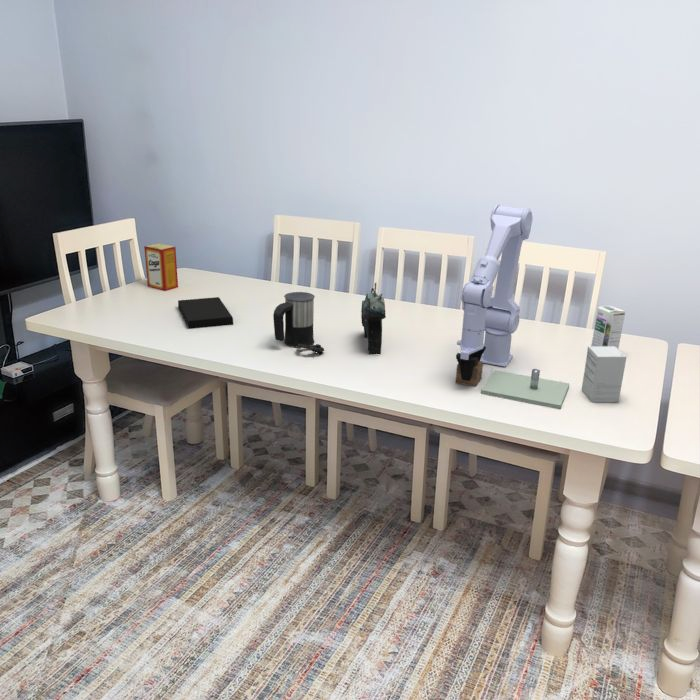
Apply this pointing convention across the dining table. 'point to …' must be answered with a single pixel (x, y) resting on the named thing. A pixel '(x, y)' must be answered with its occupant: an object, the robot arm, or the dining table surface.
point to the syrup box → (608, 327)
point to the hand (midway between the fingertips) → (469, 375)
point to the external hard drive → (204, 313)
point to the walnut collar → (475, 374)
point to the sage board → (525, 389)
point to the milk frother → (296, 321)
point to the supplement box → (603, 374)
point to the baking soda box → (161, 266)
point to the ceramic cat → (373, 320)
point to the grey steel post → (534, 379)
